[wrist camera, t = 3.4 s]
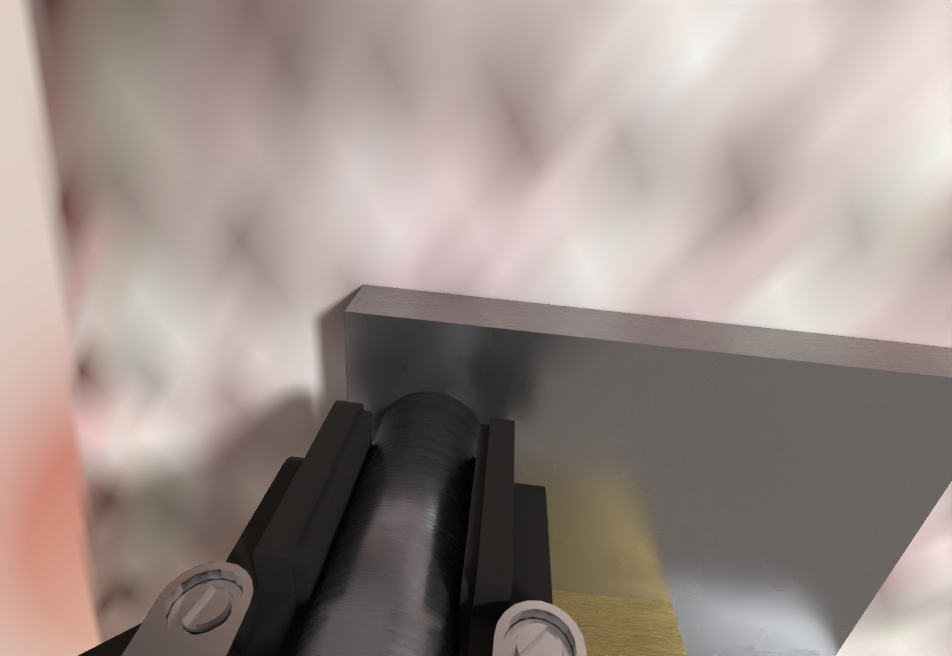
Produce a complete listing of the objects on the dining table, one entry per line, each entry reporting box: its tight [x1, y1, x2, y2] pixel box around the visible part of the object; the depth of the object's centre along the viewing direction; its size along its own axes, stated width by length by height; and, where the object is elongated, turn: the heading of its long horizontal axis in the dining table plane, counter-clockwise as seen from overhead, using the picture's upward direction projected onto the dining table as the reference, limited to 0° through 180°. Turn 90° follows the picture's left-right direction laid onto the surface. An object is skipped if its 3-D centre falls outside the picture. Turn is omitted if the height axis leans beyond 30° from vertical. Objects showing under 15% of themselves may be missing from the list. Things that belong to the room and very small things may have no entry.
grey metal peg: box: [291, 391, 479, 656], centre depth 9 cm, size 2×2×8 cm
